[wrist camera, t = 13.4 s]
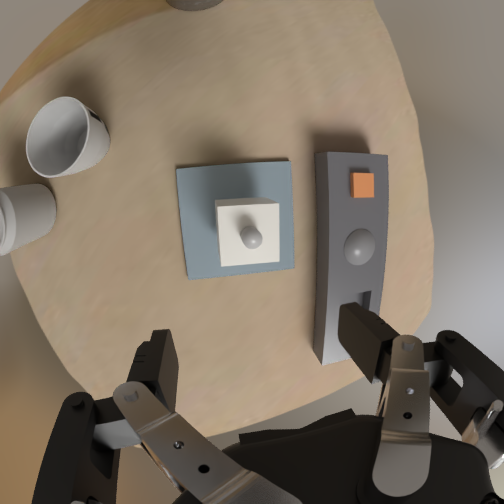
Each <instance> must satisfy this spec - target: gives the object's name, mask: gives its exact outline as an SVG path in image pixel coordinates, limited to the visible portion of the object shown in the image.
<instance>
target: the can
mask: <svg viewBox="0 0 504 504" xmlns="http://www.w3.org/2000/svg"><path fill="white" fill-rule="evenodd" d="M55 218H56V204H55V200H54V197H53V194H52V193H51V192H50V190H49V189H48V188H47V187H46V186H44V185H43V184H37V183H36V184H28V185H20V186H12V187H5V188H0V256H1V255H5V254H7V253H9V252H11V251H13V250H15V249H17V248H19V247H21V246H23V245H25V244H27V243H30V242H32V241H34V240H36V239H38V238H40V237H42V236H44V235H46V234H47V233H49V231H50V230H51V228H52V227H53V224H54V222H55Z"/></svg>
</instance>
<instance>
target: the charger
mask: <svg viewBox="0 0 504 504" xmlns="http://www.w3.org/2000/svg"><path fill="white" fill-rule="evenodd" d="M215 210H216V227H217V243H218V252H219V258H220V263H221V267H223V266H235V265H246V264H258V263H269V262H280V244H279V203H277V202H275V201H273V200H271V199H268V198H266V197H257V198H238V199H221V200H215Z"/></svg>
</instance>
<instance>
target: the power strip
mask: <svg viewBox="0 0 504 504" xmlns="http://www.w3.org/2000/svg"><path fill="white" fill-rule="evenodd" d="M315 173H316V201H317V283H316V312H315V331H314V347H313V351H314V353H315V355H316V356H317V358H318V360H319V361H320V363H321V365H326V364H330V363H334V362H338V361H342V360H346V359H349V358H351V357H350V356H349V354H348V353H347V352H346V350H345V349H344V348H343V346H342V345H341V344H340V342H339V339H338V320H339V308H340V306H341V305H342V304H346V303H351V302H357V303H358V304H359V305H360V306H361V307H363V308H364V309H367V310H370V311H372V312H374V313H376V314H377V315H378V316H379V311H380V304H381V297H382V289H383V281H384V272H385V261H386V249H387V233H388V202H389V183H388V155H379V154H366V153H349V152H322V153H316V154H315Z"/></svg>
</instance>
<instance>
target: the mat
mask: <svg viewBox="0 0 504 504" xmlns="http://www.w3.org/2000/svg"><path fill="white" fill-rule="evenodd" d="M176 175H177V187H178V198H179V208H180V218H181V227H182V235H183V244H184V251H185V259H186V266H187V273H188V280H195V279H204V278H214V277H223V276H233V275H242V274H251V273H259V272H268V271H277V270H285V269H293V268H294V226H293V197H292V175H291V161H283V162H257V163H239V164H225V165H213V166H202V167H192V168H183V169H176ZM257 197H266V198H268V199H271V200H273V201H275V202H277V203H279V244H280V262H269V263H258V264H246V265H235V266H223V267H221V263H220V258H219V252H218V243H217V227H216V210H215V200H221V199H238V198H257Z"/></svg>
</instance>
